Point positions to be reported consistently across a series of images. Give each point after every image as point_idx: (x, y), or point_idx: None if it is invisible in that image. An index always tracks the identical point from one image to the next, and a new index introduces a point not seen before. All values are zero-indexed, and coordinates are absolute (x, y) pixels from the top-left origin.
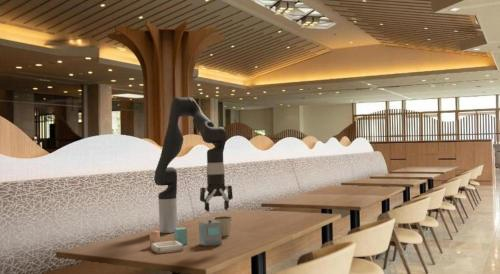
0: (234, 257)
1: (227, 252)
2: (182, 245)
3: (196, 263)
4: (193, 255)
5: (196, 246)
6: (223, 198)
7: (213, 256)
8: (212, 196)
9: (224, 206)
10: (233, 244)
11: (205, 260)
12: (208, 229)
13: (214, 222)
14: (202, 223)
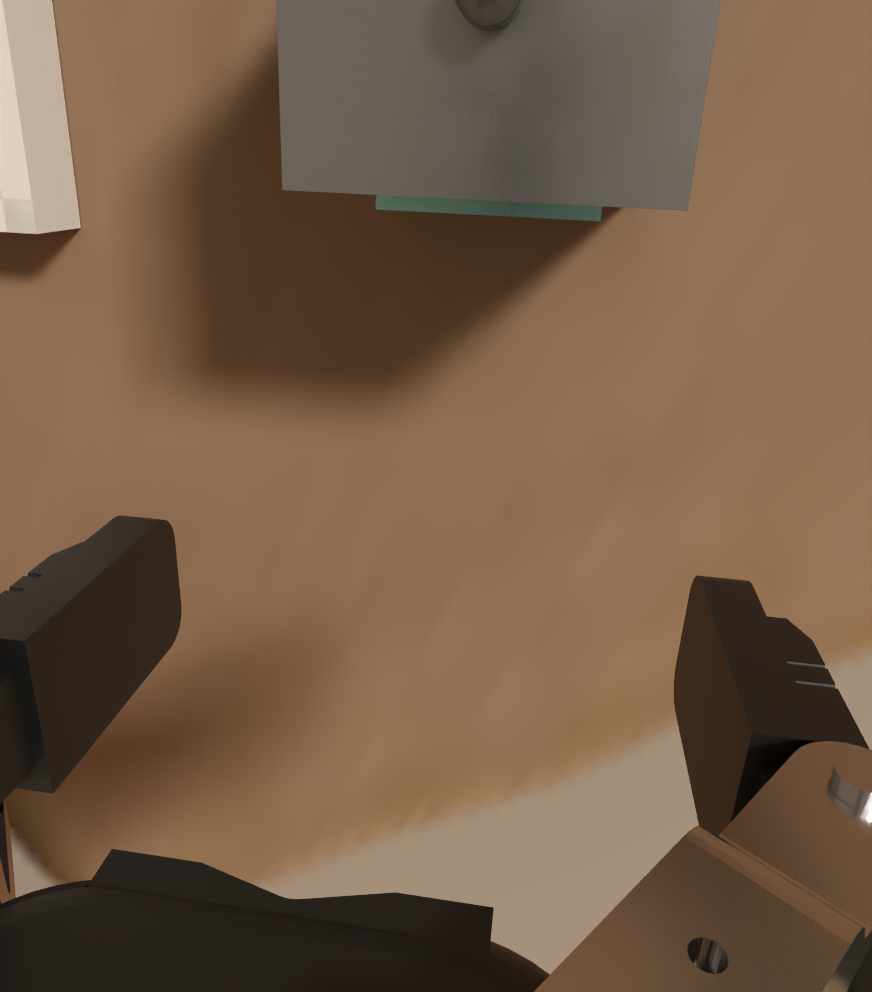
0: (437, 815)
1: (477, 626)
2: (33, 231)
3: (95, 785)
4: None
5: None
6: (746, 814)
7: (292, 679)
8: (116, 874)
9: (706, 627)
10: (777, 284)
11: (184, 752)
12: (391, 207)
13: (542, 153)
14: (280, 61)
